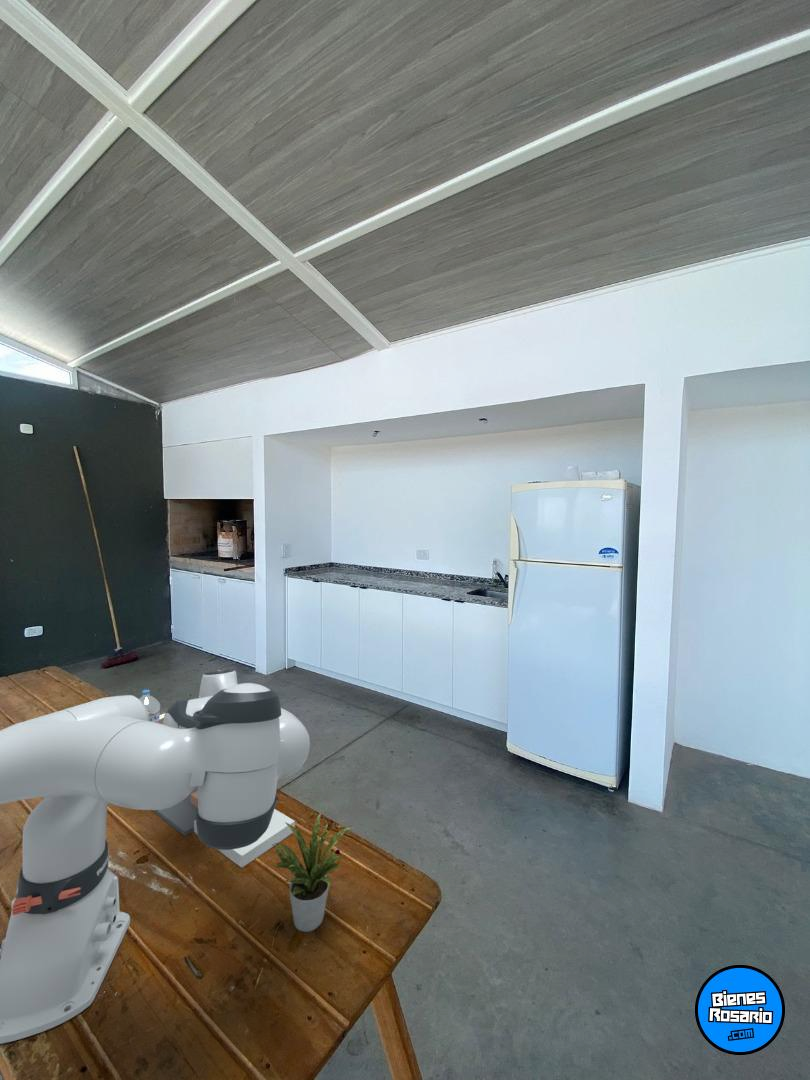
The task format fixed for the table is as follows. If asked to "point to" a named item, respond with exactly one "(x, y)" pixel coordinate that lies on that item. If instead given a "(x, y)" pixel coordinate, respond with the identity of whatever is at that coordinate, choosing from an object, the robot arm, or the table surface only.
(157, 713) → the water bottle
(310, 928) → the house plant
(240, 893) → the table surface
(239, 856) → the white slab
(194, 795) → the terracotta tile
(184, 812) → the rubber mat
